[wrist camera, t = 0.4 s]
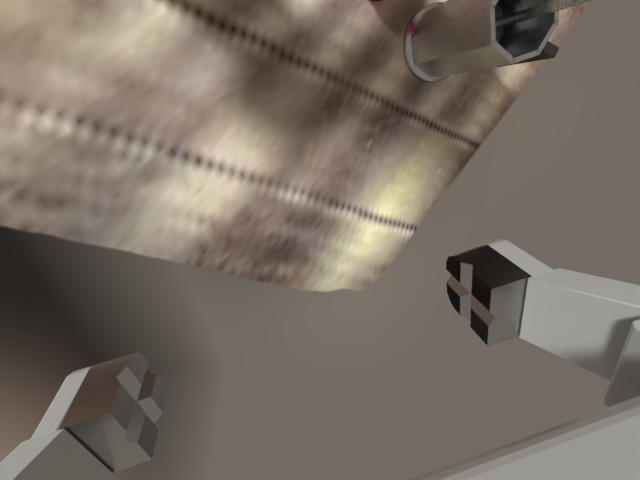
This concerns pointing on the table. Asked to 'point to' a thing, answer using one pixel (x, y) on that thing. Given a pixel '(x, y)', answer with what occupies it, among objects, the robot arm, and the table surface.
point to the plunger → (530, 13)
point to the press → (474, 38)
